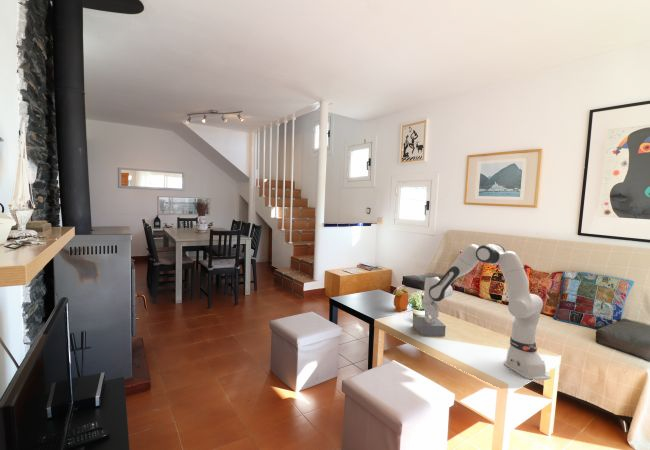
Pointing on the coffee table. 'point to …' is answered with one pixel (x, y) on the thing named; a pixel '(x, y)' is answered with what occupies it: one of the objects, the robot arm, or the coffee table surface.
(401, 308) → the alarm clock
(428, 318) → the plug peg
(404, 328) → the coffee table surface
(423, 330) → the socket block
